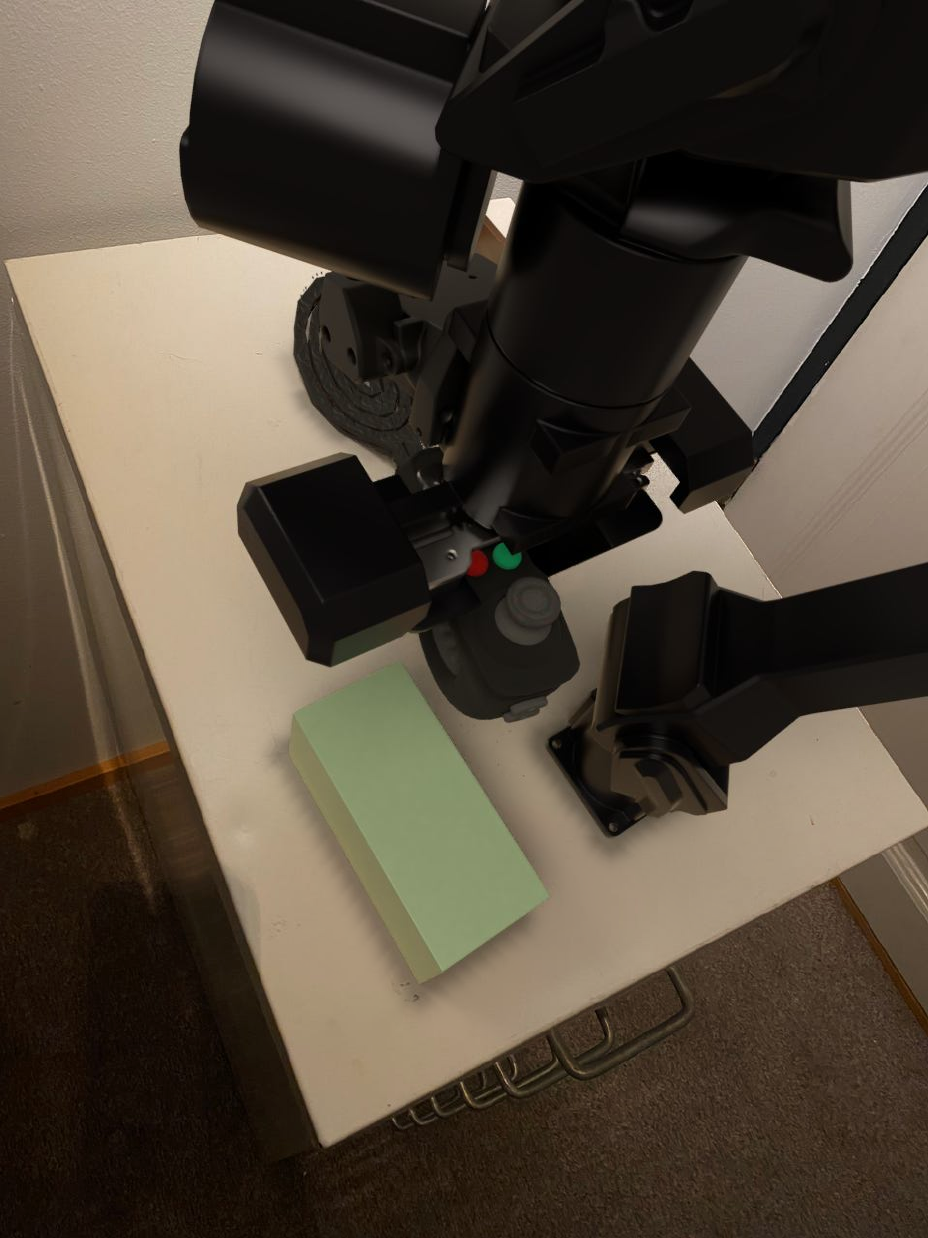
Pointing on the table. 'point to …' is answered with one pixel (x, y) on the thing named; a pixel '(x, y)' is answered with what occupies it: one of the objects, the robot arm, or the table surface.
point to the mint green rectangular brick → (412, 820)
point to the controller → (498, 632)
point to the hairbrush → (351, 390)
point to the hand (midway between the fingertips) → (466, 601)
